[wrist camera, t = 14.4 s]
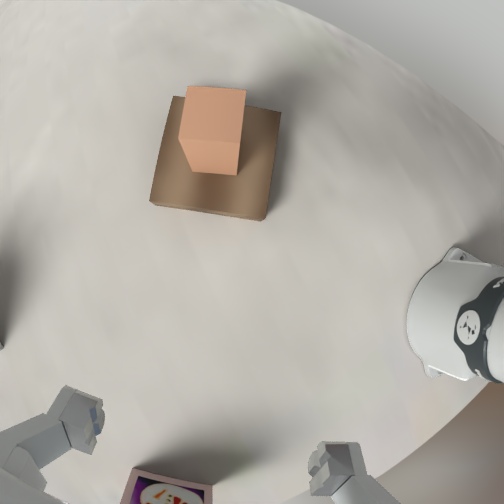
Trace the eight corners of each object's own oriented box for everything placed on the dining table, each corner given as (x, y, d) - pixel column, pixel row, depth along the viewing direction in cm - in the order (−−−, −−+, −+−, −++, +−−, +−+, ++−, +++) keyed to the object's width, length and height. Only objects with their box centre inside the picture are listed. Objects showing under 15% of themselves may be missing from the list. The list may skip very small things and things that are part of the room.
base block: (274, 125, 37) (281, 112, 33) (260, 221, 36) (265, 218, 33) (177, 110, 35) (173, 95, 31) (156, 205, 35) (149, 200, 31)
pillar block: (240, 134, 32) (246, 90, 22) (236, 175, 32) (240, 143, 22) (198, 131, 32) (187, 86, 22) (192, 171, 32) (178, 138, 22)
